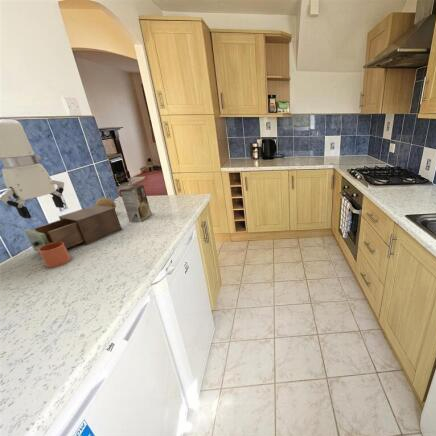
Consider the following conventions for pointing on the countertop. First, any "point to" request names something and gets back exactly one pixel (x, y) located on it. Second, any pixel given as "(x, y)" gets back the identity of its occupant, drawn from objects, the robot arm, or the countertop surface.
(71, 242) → the drawer
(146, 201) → the coffee box
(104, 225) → the cabinet
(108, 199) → the natural sponge
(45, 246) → the ramekin
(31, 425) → the countertop surface
